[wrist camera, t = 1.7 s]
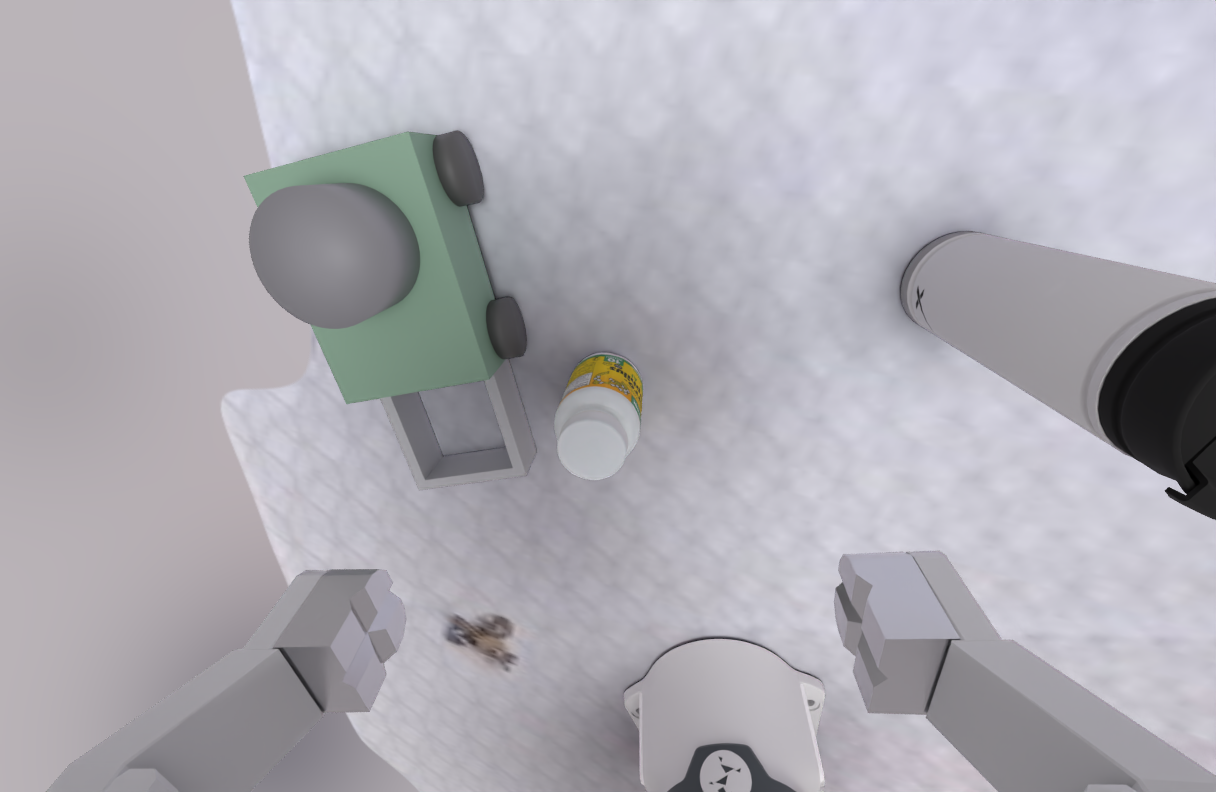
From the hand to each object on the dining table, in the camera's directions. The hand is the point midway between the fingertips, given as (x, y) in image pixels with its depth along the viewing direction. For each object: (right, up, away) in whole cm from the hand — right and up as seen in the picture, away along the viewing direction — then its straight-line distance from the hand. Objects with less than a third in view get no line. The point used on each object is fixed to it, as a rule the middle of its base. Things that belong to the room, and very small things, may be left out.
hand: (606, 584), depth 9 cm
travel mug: (+22, +11, +24) cm, 34 cm away
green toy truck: (-12, +8, +28) cm, 32 cm away
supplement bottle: (0, +4, +29) cm, 29 cm away
